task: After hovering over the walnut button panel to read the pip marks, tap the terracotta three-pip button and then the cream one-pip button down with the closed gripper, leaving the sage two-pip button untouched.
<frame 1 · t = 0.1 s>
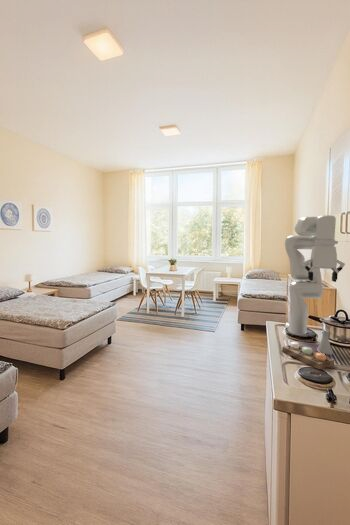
hand: (322, 280, 121), 37 cm above the table, tool pointing down, fingers open, 9 cm apart
panel: (306, 357, 125), on the table
button 1: (294, 346, 131), point 3 cm above the table, slide at 0.0 cm
flask: (324, 352, 132), on the table
button 2: (306, 351, 125), point 3 cm above the table, slide at 0.0 cm
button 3: (320, 357, 118), point 3 cm above the table, slide at 0.0 cm
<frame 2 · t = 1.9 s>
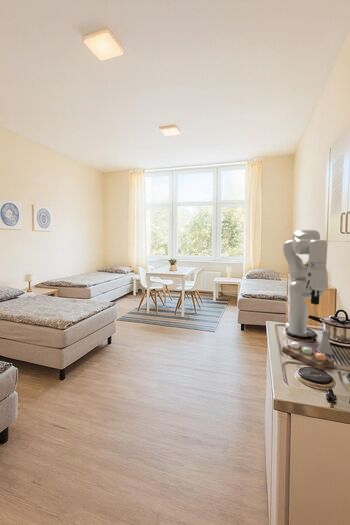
hand: (314, 303, 127), 25 cm above the table, tool pointing down, fingers closed
nothing on the table moved.
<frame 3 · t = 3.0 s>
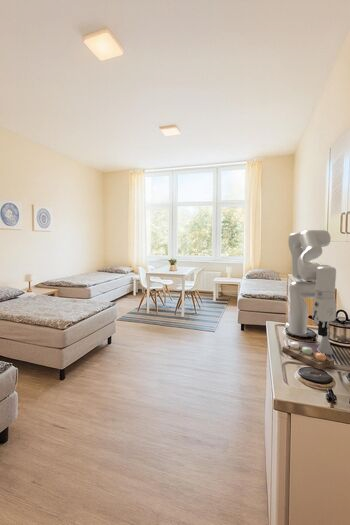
hand: (322, 335, 117), 13 cm above the table, tool pointing down, fingers closed
nothing on the table moved.
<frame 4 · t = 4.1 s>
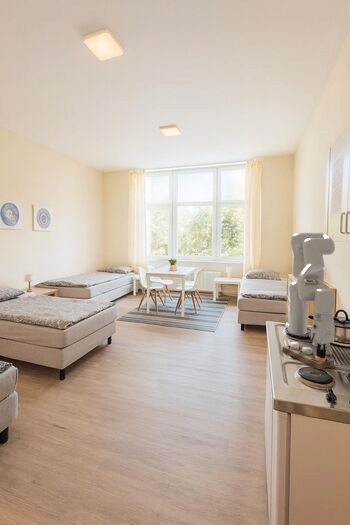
hand: (320, 356, 118), 4 cm above the table, tool pointing down, fingers closed
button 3: (320, 360, 118), point 2 cm above the table, slide at 1.1 cm, touching gripper
everything else where it was.
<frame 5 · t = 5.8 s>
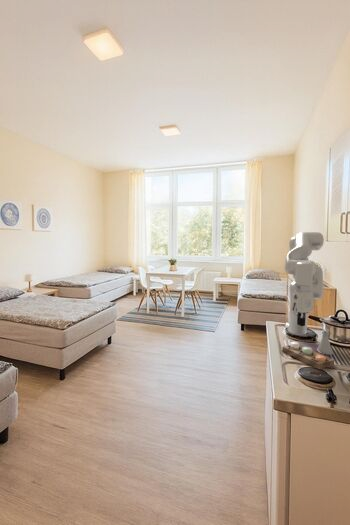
hand: (301, 325, 128), 14 cm above the table, tool pointing down, fingers closed
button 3: (320, 360, 118), point 2 cm above the table, slide at 1.2 cm
everything else where it was.
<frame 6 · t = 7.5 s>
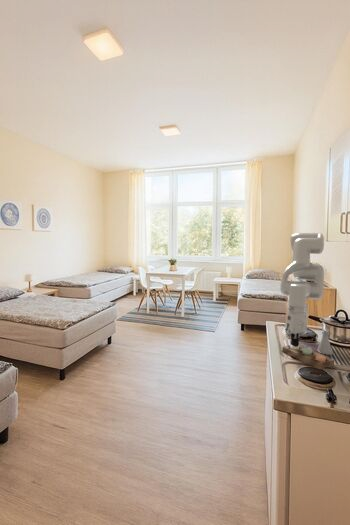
hand: (294, 345, 131), 3 cm above the table, tool pointing down, fingers closed
button 1: (294, 348, 131), point 2 cm above the table, slide at 1.2 cm, touching gripper
everything else where it was.
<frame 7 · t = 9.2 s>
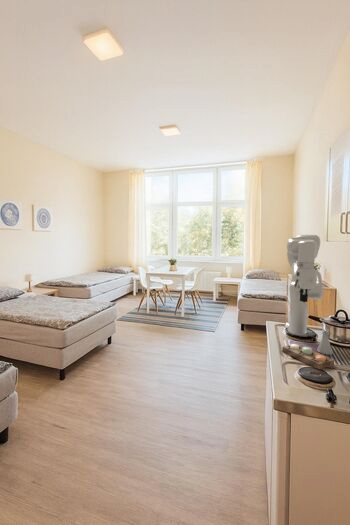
hand: (303, 301, 134), 25 cm above the table, tool pointing down, fingers closed
button 1: (294, 348, 131), point 2 cm above the table, slide at 1.2 cm
everything else where it was.
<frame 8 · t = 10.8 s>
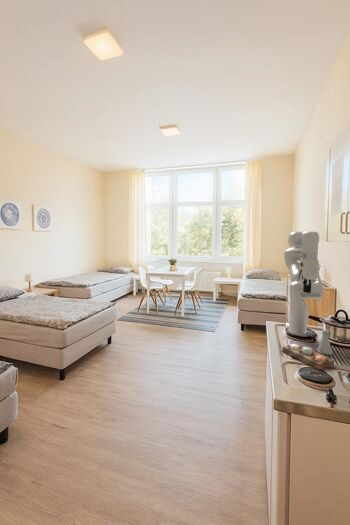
hand: (306, 292, 134), 29 cm above the table, tool pointing down, fingers closed
nothing on the table moved.
at the end: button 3 slide at 1.2 cm; button 1 slide at 1.2 cm; button 2 slide at 0.0 cm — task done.
